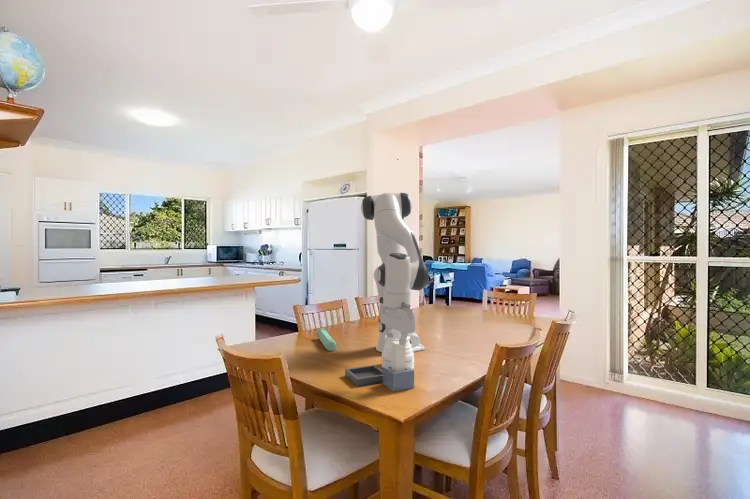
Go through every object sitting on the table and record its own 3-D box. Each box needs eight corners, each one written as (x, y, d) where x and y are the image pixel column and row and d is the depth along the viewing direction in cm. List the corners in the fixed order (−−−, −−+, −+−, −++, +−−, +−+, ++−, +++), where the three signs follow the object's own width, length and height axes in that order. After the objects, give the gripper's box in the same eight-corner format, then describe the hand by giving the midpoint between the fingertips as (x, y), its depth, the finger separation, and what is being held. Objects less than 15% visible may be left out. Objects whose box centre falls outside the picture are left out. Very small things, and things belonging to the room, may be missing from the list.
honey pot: (375, 365, 158) (375, 320, 158) (399, 359, 166) (399, 317, 166) (395, 374, 148) (396, 326, 148) (420, 367, 156) (421, 322, 155)
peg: (400, 383, 138) (400, 340, 138) (405, 386, 135) (405, 343, 134) (391, 385, 136) (391, 341, 136) (396, 388, 133) (396, 344, 133)
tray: (374, 371, 151) (374, 365, 151) (388, 381, 140) (389, 374, 140) (345, 375, 146) (345, 369, 145) (357, 386, 135) (357, 379, 135)
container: (335, 338, 179) (325, 326, 202) (323, 344, 177) (314, 331, 201) (340, 349, 179) (329, 336, 203) (328, 355, 178) (318, 341, 202)
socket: (402, 380, 141) (402, 363, 141) (414, 388, 134) (414, 370, 134) (382, 383, 137) (382, 366, 137) (393, 391, 130) (393, 373, 130)
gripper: (420, 305, 127) (419, 348, 127) (392, 297, 145) (391, 334, 145) (403, 305, 124) (401, 349, 124) (376, 297, 143) (375, 335, 143)
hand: (395, 341), depth 135 cm, fingers open, 8 cm apart
